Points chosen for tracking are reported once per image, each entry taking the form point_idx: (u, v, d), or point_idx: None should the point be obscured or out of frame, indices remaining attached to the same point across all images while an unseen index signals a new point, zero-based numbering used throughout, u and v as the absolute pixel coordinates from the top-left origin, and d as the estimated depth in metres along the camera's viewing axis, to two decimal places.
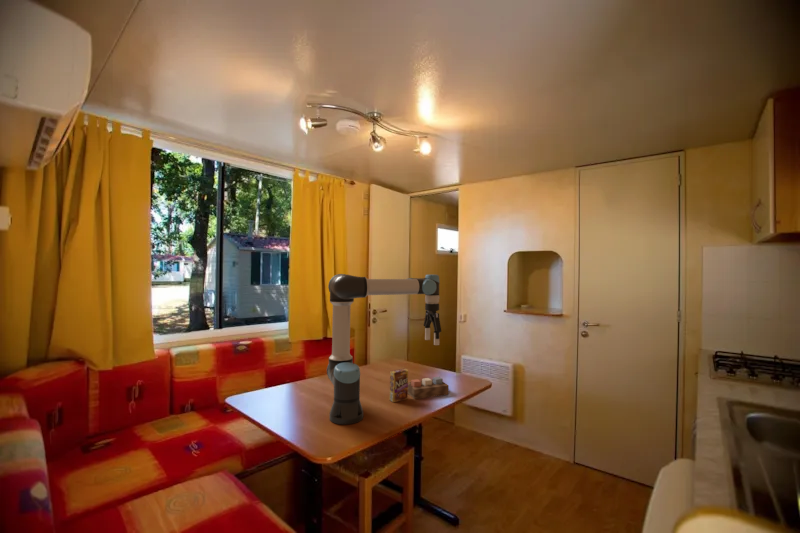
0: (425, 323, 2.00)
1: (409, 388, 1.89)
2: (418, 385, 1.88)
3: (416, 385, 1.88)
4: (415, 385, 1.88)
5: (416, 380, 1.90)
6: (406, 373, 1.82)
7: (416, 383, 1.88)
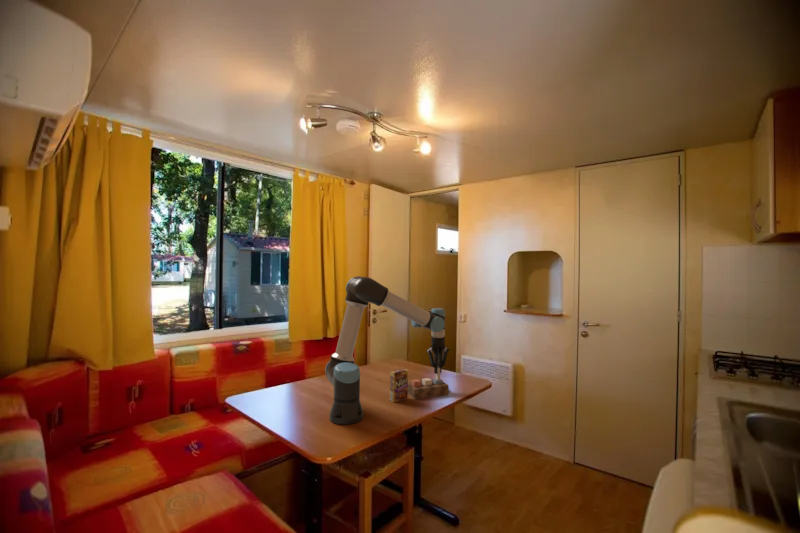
0: None
1: (409, 388, 1.89)
2: (418, 385, 1.88)
3: (416, 385, 1.88)
4: (415, 385, 1.88)
5: (416, 380, 1.90)
6: (406, 373, 1.82)
7: (416, 383, 1.88)
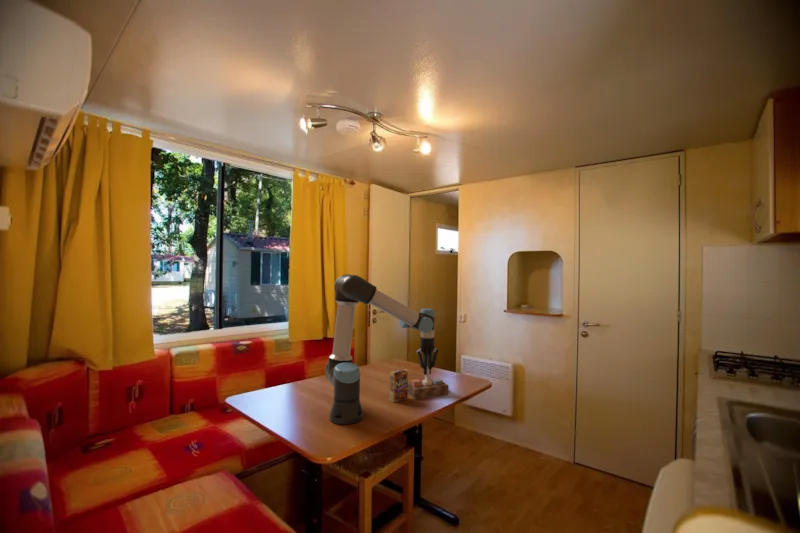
0: None
1: (409, 388, 1.89)
2: (418, 385, 1.88)
3: (416, 385, 1.88)
4: (415, 385, 1.88)
5: (416, 380, 1.90)
6: (406, 373, 1.82)
7: (416, 383, 1.88)
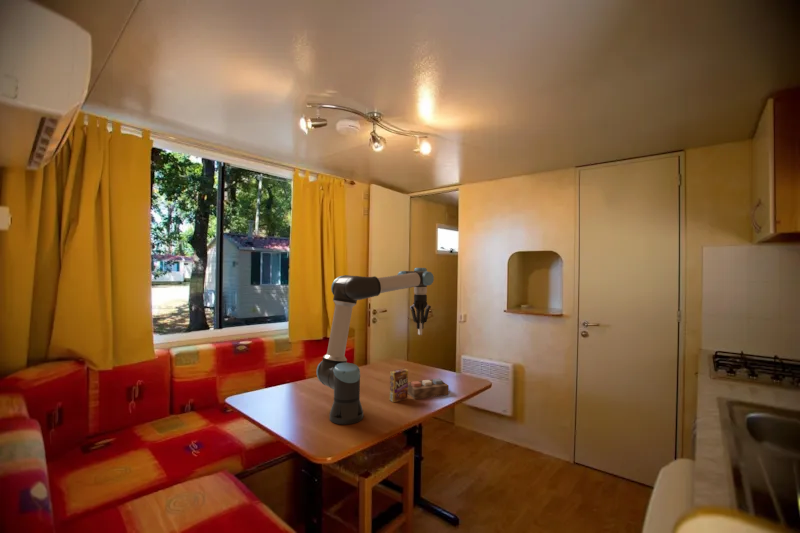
0: None
1: (409, 388, 1.89)
2: None
3: None
4: None
5: (416, 382, 1.90)
6: (406, 373, 1.82)
7: (416, 385, 1.88)
